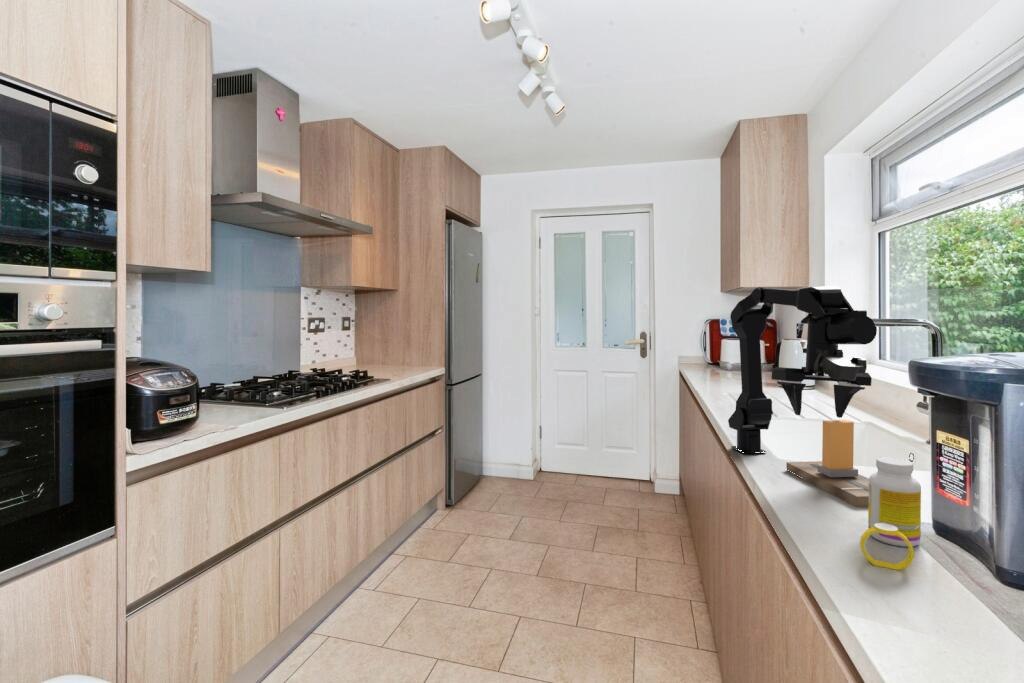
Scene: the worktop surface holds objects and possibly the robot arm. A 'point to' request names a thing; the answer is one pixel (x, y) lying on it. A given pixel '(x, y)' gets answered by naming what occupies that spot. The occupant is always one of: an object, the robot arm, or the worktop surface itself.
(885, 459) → the supplement bottle
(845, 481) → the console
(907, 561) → the watch
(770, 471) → the worktop surface
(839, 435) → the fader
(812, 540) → the worktop surface
